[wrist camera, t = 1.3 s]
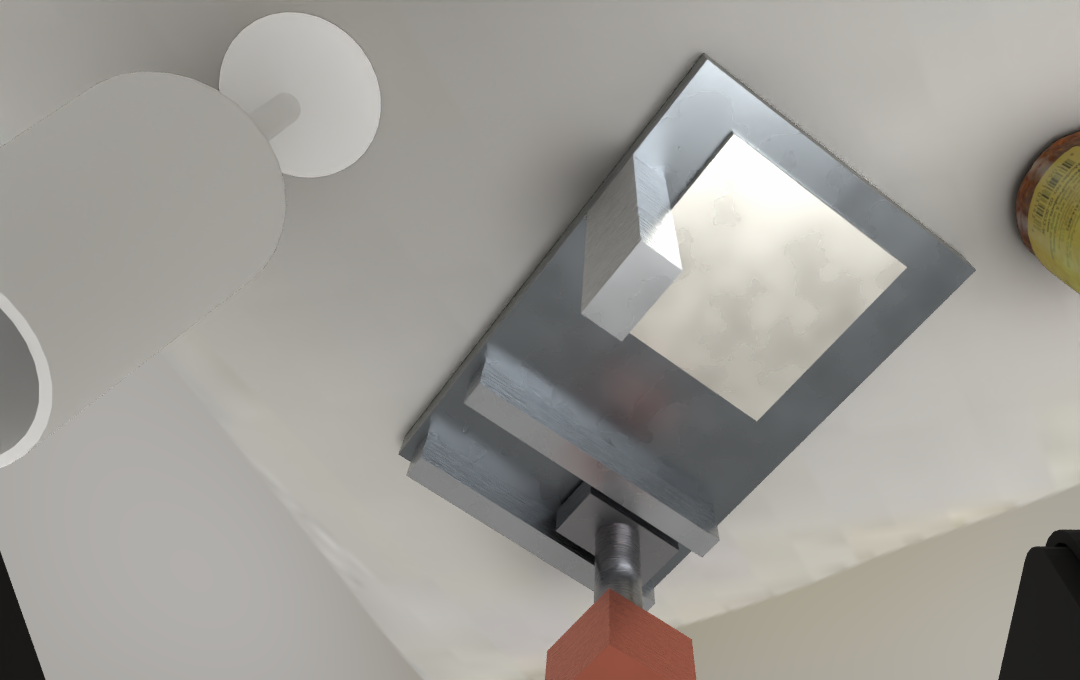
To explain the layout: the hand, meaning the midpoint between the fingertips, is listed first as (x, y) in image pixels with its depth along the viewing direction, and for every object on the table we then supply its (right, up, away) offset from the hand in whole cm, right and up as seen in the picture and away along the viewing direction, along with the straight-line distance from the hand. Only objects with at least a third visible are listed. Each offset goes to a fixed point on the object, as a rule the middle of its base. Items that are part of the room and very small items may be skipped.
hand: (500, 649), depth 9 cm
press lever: (+4, -6, +36) cm, 37 cm away
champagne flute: (-9, +13, +31) cm, 34 cm away
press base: (+6, +2, +34) cm, 35 cm away
